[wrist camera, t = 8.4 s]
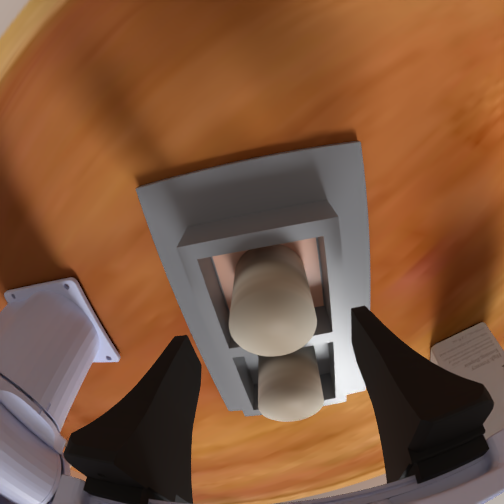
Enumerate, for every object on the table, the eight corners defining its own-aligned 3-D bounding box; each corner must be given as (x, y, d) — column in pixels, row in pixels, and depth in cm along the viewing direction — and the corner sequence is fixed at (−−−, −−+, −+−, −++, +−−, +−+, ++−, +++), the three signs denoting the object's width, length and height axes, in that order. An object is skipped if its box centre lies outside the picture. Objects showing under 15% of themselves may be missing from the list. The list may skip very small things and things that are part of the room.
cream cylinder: (243, 307, 19) (239, 360, 15) (227, 249, 17) (218, 297, 13) (307, 297, 18) (319, 349, 14) (300, 237, 16) (313, 283, 12)
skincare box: (483, 318, 20) (550, 421, 9) (478, 349, 22) (531, 444, 11) (426, 347, 21) (481, 468, 11) (426, 376, 23) (468, 483, 12)
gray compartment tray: (229, 406, 25) (227, 434, 22) (138, 186, 16) (116, 203, 13) (363, 386, 23) (371, 413, 21) (357, 140, 14) (378, 149, 12)
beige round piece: (264, 375, 22) (264, 424, 18) (253, 338, 20) (251, 391, 16) (316, 367, 21) (325, 416, 17) (312, 329, 20) (322, 381, 16)
